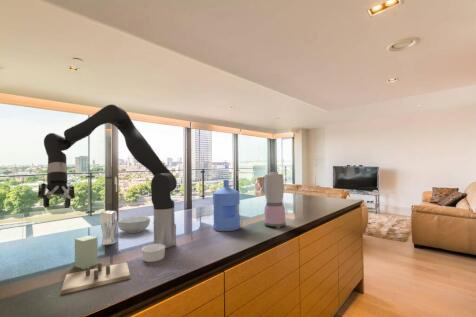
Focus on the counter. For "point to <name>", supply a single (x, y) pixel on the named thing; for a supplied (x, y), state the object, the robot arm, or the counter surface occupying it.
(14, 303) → the counter surface
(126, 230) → the cereal bowl
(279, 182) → the blender
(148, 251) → the ramekin
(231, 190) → the water jug
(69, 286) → the peg board
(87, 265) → the green block
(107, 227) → the beer glass
